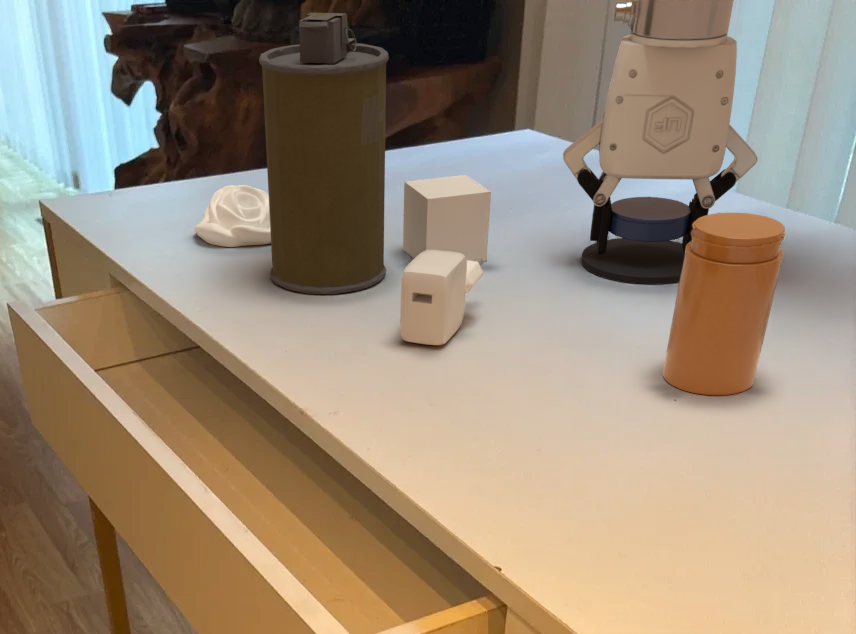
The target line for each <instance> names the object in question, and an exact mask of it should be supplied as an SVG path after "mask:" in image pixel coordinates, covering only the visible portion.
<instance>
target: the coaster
mask: <svg viewBox="0 0 856 634" xmlns="http://www.w3.org/2000/svg"><path fill="white" fill-rule="evenodd" d="M683 258H684V251H683V248H682V242H680V241H675V240H670V241H662V242H643V241H635V240H628V239H625V238H621V237H617V238H610V239H608V240H607V247H606V253H605V252H604V253H603V254H597V246H596V242H594V243H592V244H590V245H588V246H587V247H585V248H584V249H583V250H582V252H581V258H580V263H581V266H583V269H585V270H586V271H588V272H590V273H592V274H593V275H595V276H598V277H600V278H604V279H607V280H612V281H615V282H622V283H629V284H639V285H660V284H661V285H663V284H664V285H665V284H675V283H679V280H680V274H681V269H682V263H683Z"/></svg>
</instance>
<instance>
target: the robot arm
mask: <svg viewBox="0 0 856 634" xmlns="http://www.w3.org/2000/svg"><path fill="white" fill-rule="evenodd" d="M734 1H735V0H625V1H616V3H615V9H614V18H613V21H614V22H623V24H627V26H628V28H630V34H627V35H625V36H623V37H622V38H621V41H620V44H619V45H618V46H619V47H618V50H617V53H616V56H615V60H614V64H613V69H612V73H611V76H610V81H609V84H608V88H607V95H606V100H605V105H604V110H603V116H602V118H601V119H600V120H599V121H597V123H596V124H595V125H593V126H592V127H591V128H590V129H588V130H587V131H585V133H583V134H582V135H581V136H580V137H578V138H577V139H576V140H575V141H574V142H572V143H571V144H570V145H569V146H567V147H566V148H565V149H564V150H563V153H562V159H563V161H564V163H565V165H566V166H567V168H568V169H569V171H570V172H571V173H572V175H573V176H574V178H575V180H576V181H577V183H578V185H579V186H580V187H581V188H582V190H583V191H584V192H585V193H586V195H587V196H588V197H589V198H590V199H591V200H592V202H593V210H592V218H591V224H590V232H589V242H595V243H596V246H597V254H603V253H604V252H605V253H606V247H607V240H609V233H610V232H609V226H610V219H611V212H612V206H611V204H612V201H611V196H612V194H613V192H614V191H615V190H616V188H617V187H618V185H619V184H620V181H621V180H622V179H633V180H634V179H636V180H639V179H641V180H692V183H693V186H694V190H695V193H694V195H693V198H692V199H691V201H689V203H688V206H689V207H690V208H691V216H690V221H689V227H688V232H687V234H686V235H685V236H683V237H682V241H681V243H682V248H683V251H684V252H685V247H686V245H687V244H688V243H689V242H691V239H692V237H691V235H690V234H691V231H692V229H693V228H692V224H693V222H694V221H696V220H697V219H698V218H700V217H702V216H706V215H709V211H710V209H711V208H712V207H713V206H714V205H715V203H716V201H718V200H719V199H720V198H721V197H723V196H724V195H725V194H726V193H727V192H728V191H729V190H731V189H732V188H733V187H734V186H735V185H736V183H737V182H738V181H739V180H740V179H742V178H743V177H744V176H745V175H746V174H747V173H748V172H749V171H750V170H751V169H752V168H753V167H754V166H755V165H756V164H757V163H758V156H757V154H756V152H755V151H754V150H753V148H752V147H751V146H750V145H749V144H748V143H747V142H746V141H745V140H744V138H743V137H742V136H741V135H740V134H739V133H738V132H737V130H735V128H733V126H732V125H731V117H732V110H733V101H734V96H735V95H734V93H735V85H736V75H737V57H738V55H737V53H738V52H737V51H738V49H737V48H738V47H737V39H735V38H733V37H731V36H730V35H729V36H728V32H729V29H730V23H731V17H732V12H733V7H734ZM597 147H598V156H599V158H598V159H599V160H598V161H599V166H600V168H601V169H600V170H602V172H601V174H600V175H599V177H597V176H596V174H595V173H594V172H593V170H592V169H591V168H590V167H589V166H588V165H587V164H588V163H586V161H585V159H584V158H585V157H586V155H587V154H588V153H590V152H591V151H593V149H595V148H597ZM726 149H727V151H729V152H730V153H731V154H732V155H733V157H734V158H733V160H732V162H731V163H730V164H729V165H728V166H727V167H726V168H724V169H723V170H722V171H721V169H722V165H723V162H724V158H725V154H726ZM715 175H716V176H715ZM713 176H715V177H713ZM711 177H713V178H712V179H711V180H710V178H711Z"/></svg>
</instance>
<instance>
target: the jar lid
mask: <svg viewBox="0 0 856 634" xmlns="http://www.w3.org/2000/svg"><path fill="white" fill-rule="evenodd" d="M611 206H612V212H611V219H610V226H609V233H611V234H612V235H613V236H616V237H617V238H625V239H628V240H635V241H643V242H662V241H675V240H678V239H680V238H683V236H685V235H686V234H687V232H688V227H689V221H690V216H691V208H690V207H689V204H686V203H684V202H682V201H679V200H676V199H671V198H667V197H666V198H665V197H657V196H634V197H633V196H632V197H626V198H622V199H618V200H616V201H613V202H611Z"/></svg>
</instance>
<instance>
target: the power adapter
mask: <svg viewBox="0 0 856 634" xmlns="http://www.w3.org/2000/svg"><path fill="white" fill-rule="evenodd" d="M483 264H484V261H483V259H482V258H481V257H478V258H476V259H475V260H474V261H470V260H466V257H465V256H464V254H462V253H457V252H451V251H442V250H425V251H423V252H422V253H420V254H419V255H418V256H417V257H416V258H414V259H413V258H412V260H411V261H410V262H409V263H408V264H407V265H406V266H405V267H404V269H403V272H402V276H401V286H400V317H399V318H400V319H399V320H400V321H399V322H400V323H399V324H400V327H399V329H400V336H401V338H402V339H403V341H405V342H408V343H415V344H421V345H430V346H442V345H445V344H446V343H447V342H448V341H449V340H450V339H451V338H452V337H453V336H454V335H455V334H456V332H457V331H458V330H459V328H460V327H461V325H463V320H464V318H465V317H464V316H465V307H466V306H465V305H466V294H467V295H468V293H469V292H470V291H471V290H472V289H473V288H474V286H475V285H476V284H477V283H478V282H479V280H480V279H481V278H482V277H483V275H484V271H483V269H482V266H483Z"/></svg>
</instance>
